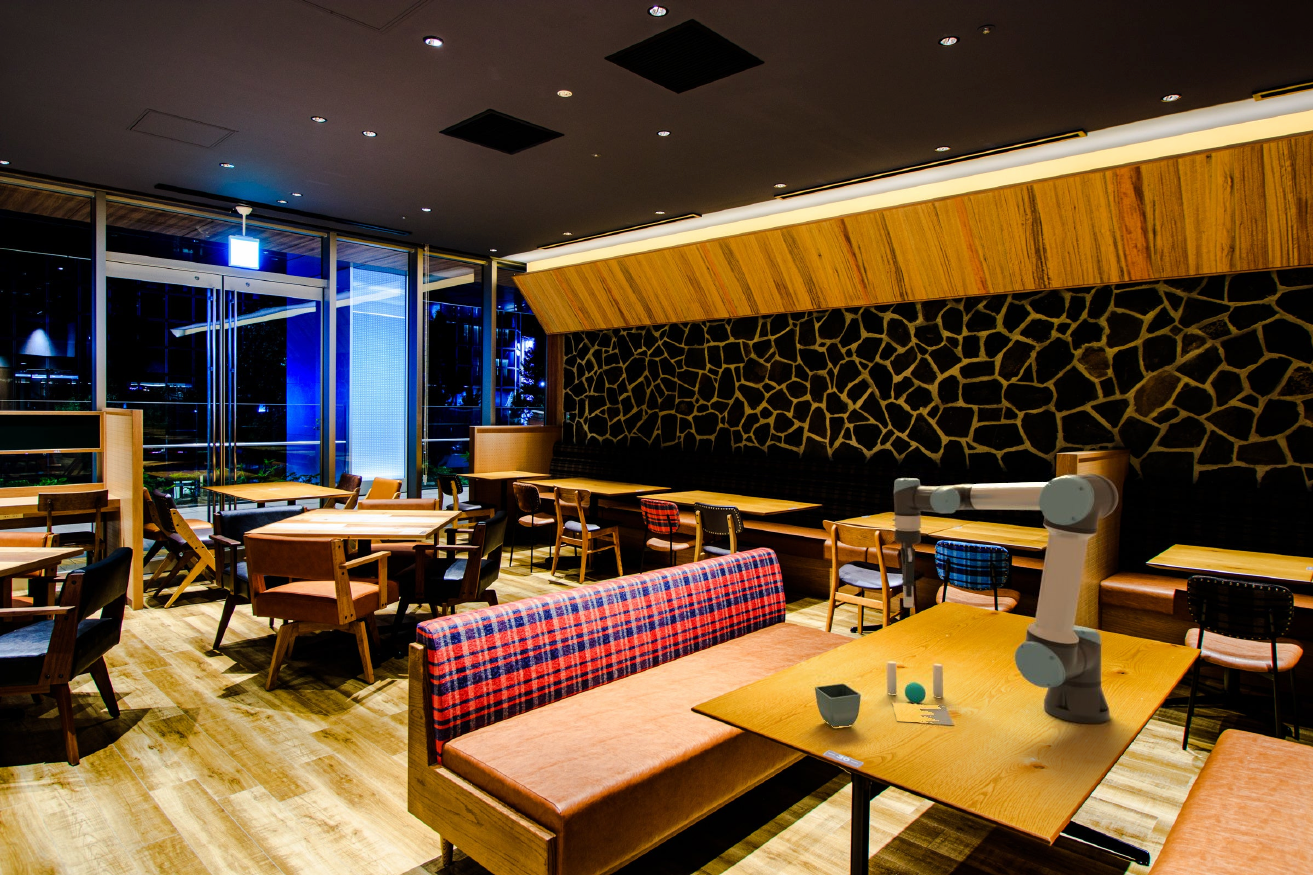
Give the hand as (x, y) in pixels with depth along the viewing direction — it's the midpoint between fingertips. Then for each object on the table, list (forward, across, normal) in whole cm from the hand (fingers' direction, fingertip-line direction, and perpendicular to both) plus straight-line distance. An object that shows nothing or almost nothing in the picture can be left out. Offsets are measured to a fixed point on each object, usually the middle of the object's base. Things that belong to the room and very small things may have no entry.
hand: (908, 606), depth 220 cm
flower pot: (+23, +39, -22) cm, 50 cm away
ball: (+20, +19, -1) cm, 27 cm away
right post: (+22, +13, +6) cm, 27 cm away
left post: (+22, +13, -6) cm, 27 cm away
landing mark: (+22, +27, 0) cm, 35 cm away
